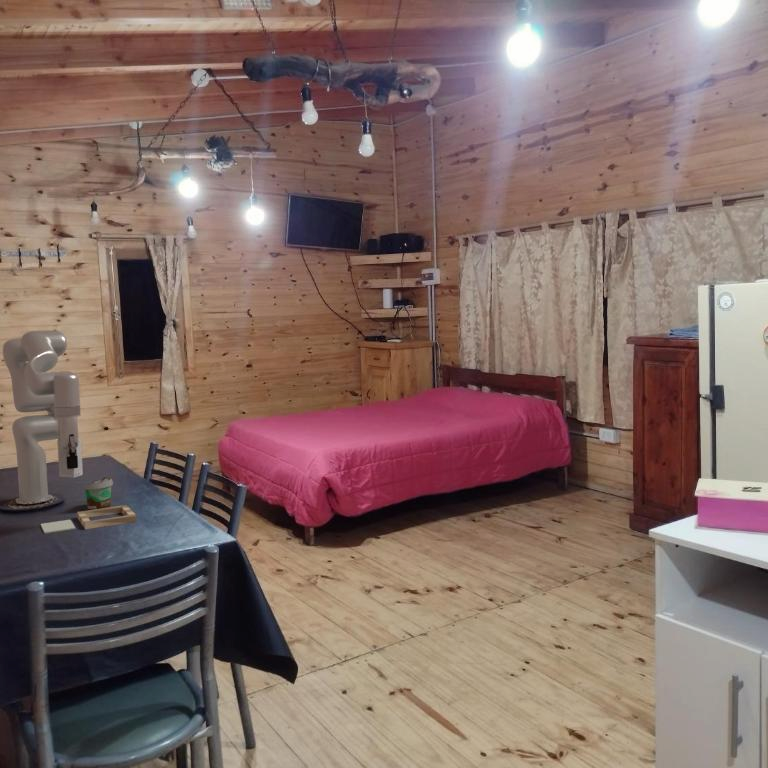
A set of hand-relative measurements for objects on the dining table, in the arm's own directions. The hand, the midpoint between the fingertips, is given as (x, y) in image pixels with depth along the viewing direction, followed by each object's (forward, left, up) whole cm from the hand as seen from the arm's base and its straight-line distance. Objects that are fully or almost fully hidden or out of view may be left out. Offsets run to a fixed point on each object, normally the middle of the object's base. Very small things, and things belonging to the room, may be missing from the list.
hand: (70, 465), depth 234 cm
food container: (-17, +12, -20) cm, 29 cm away
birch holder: (0, +10, -19) cm, 22 cm away
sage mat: (0, -5, -19) cm, 20 cm away
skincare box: (0, 0, -4) cm, 4 cm away
